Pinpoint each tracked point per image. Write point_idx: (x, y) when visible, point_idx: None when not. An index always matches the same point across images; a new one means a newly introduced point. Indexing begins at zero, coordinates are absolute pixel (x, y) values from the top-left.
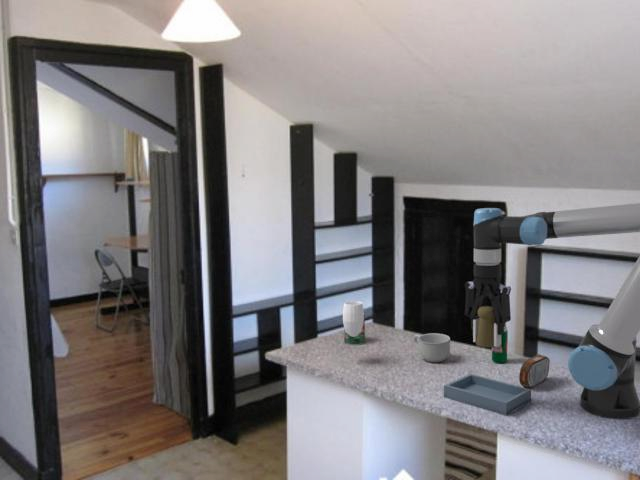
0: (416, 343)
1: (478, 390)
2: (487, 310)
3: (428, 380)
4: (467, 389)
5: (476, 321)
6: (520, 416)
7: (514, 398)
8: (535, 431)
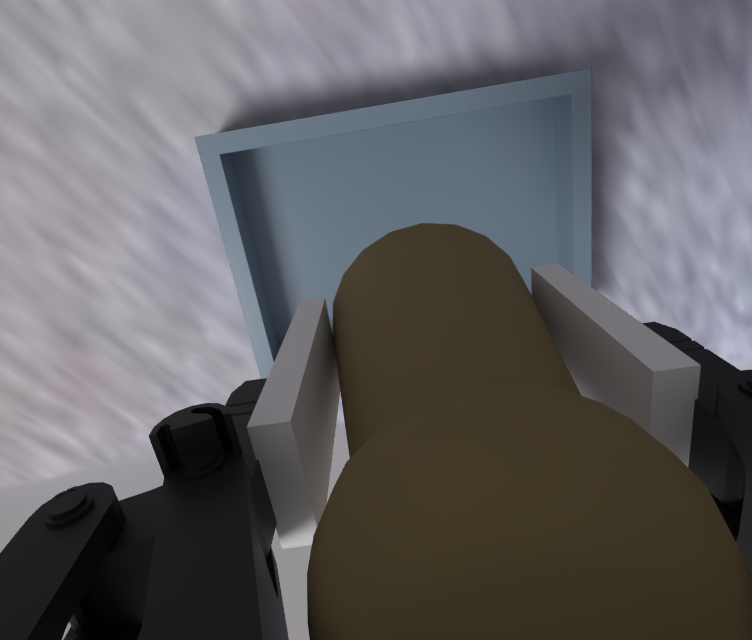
0: None
1: (332, 209)
2: None
3: (57, 261)
4: (290, 241)
5: (319, 504)
6: (615, 269)
7: (590, 254)
8: (723, 338)
